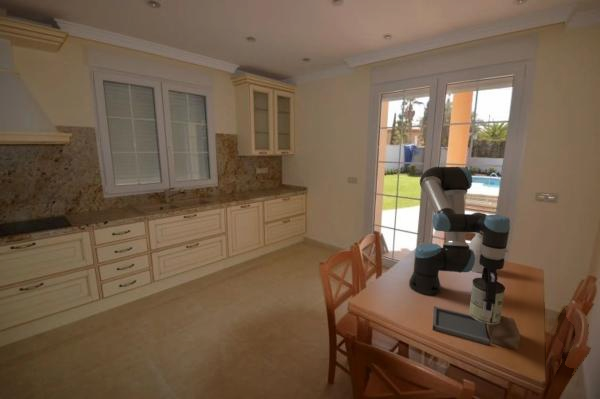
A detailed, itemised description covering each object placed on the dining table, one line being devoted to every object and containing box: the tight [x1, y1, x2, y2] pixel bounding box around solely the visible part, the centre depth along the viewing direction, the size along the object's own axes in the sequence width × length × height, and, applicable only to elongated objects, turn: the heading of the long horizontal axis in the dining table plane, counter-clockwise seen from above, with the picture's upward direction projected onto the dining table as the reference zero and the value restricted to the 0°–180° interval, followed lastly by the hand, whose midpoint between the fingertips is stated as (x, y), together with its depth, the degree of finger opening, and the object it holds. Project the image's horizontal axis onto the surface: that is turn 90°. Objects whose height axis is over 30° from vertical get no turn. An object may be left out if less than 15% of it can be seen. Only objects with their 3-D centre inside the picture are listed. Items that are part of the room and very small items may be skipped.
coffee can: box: [468, 277, 506, 325], centre depth 104 cm, size 10×10×14 cm
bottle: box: [468, 233, 484, 273], centre depth 158 cm, size 11×11×25 cm
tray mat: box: [432, 306, 491, 346], centre depth 111 cm, size 19×15×2 cm
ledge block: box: [486, 315, 521, 351], centre depth 104 cm, size 8×11×6 cm
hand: (484, 309), depth 105 cm, fingers closed on coffee can, 10 cm apart
